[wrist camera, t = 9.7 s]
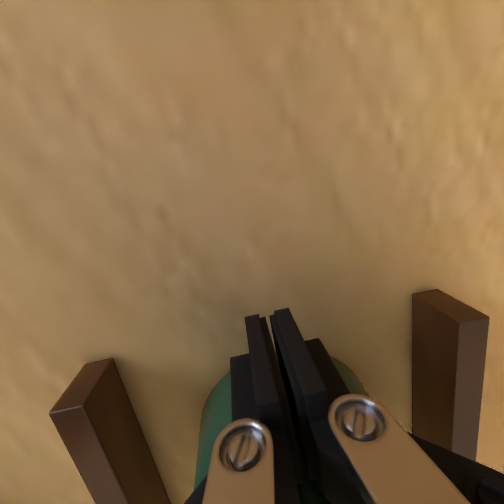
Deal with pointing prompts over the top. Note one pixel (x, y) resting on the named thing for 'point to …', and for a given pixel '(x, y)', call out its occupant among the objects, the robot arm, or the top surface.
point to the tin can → (220, 416)
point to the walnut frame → (424, 404)
